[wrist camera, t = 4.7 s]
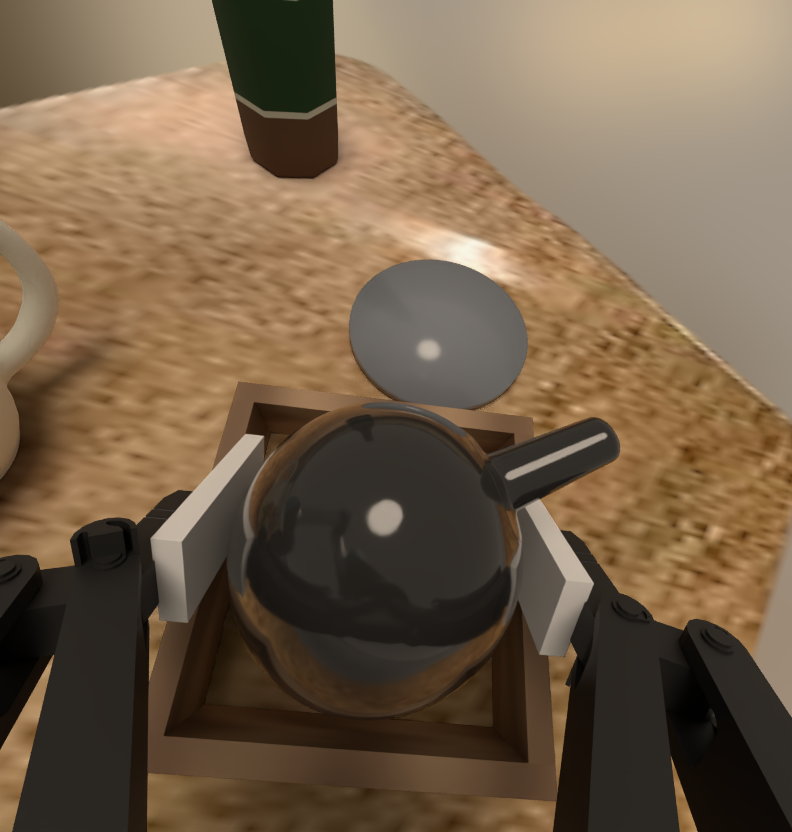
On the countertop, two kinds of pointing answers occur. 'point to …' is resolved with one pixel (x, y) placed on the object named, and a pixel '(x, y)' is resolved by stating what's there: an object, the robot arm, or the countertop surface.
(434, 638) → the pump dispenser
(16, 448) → the pitcher
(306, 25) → the beer bottle
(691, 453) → the countertop surface
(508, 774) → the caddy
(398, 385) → the coaster
